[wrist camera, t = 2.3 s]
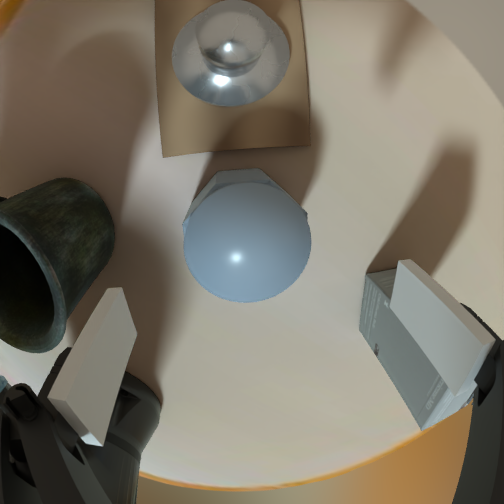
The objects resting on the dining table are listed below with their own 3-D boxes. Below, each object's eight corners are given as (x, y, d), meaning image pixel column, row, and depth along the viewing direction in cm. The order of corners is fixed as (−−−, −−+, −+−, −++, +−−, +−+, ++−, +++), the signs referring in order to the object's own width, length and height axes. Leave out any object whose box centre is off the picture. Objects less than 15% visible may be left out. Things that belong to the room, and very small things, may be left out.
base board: (165, 156, 22) (162, 157, 21) (157, -7, 16) (155, -11, 15) (307, 145, 23) (310, 145, 22) (293, -15, 17) (295, -19, 16)
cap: (200, 264, 27) (194, 307, 20) (188, 174, 23) (175, 191, 17) (289, 256, 27) (309, 295, 21) (287, 166, 24) (311, 179, 17)
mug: (100, 295, 27) (54, 377, 16) (2, 230, 23) (-65, 280, 12) (140, 207, 24) (82, 268, 13) (26, 140, 20) (-61, 160, 9)
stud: (177, 112, 20) (159, 106, 14) (172, 16, 16) (156, -18, 11) (290, 104, 21) (315, 95, 15) (282, 9, 17) (301, -25, 11)
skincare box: (363, 271, 29) (450, 377, 14) (416, 261, 29) (507, 346, 15) (356, 332, 32) (414, 437, 18) (404, 320, 33) (471, 408, 18)
